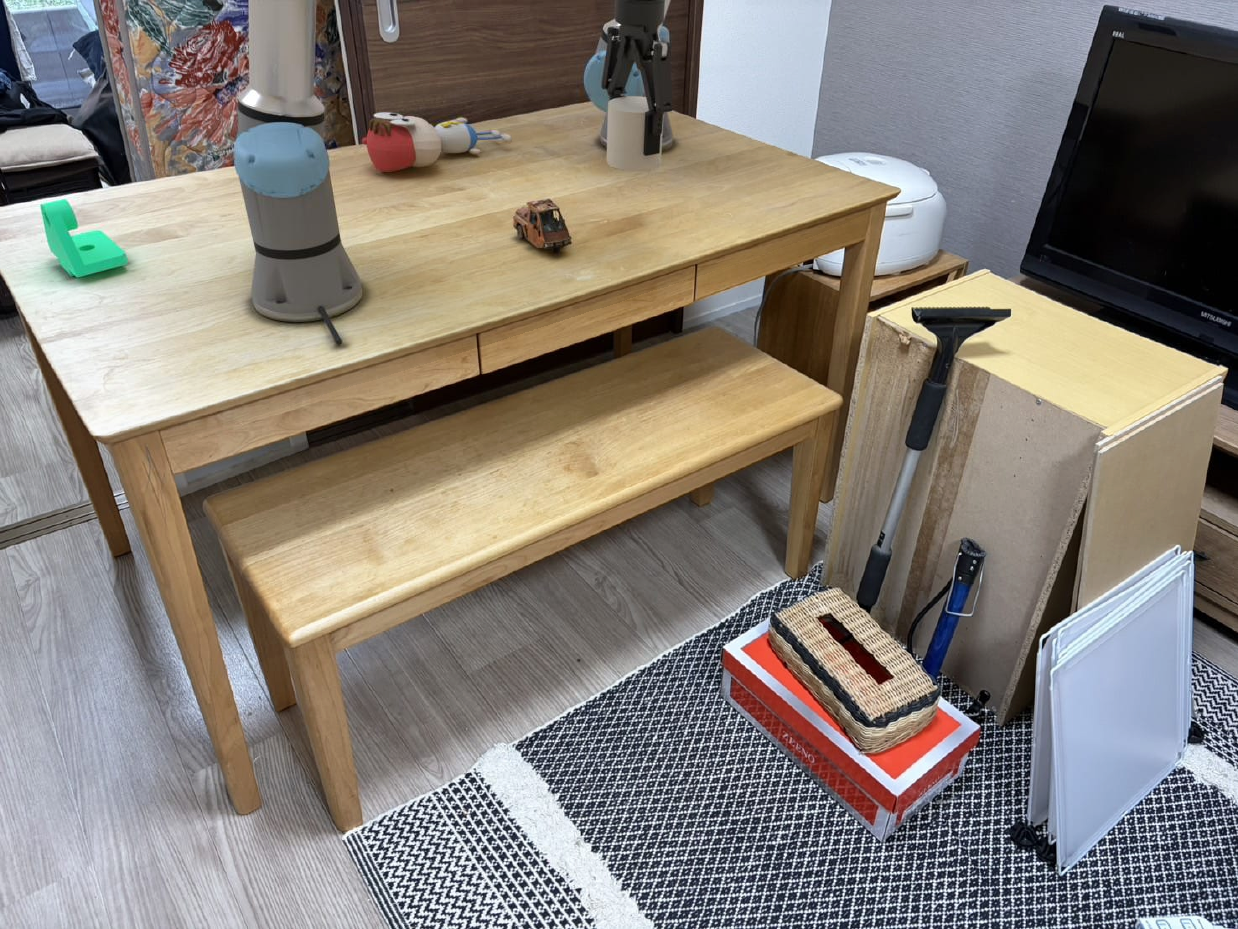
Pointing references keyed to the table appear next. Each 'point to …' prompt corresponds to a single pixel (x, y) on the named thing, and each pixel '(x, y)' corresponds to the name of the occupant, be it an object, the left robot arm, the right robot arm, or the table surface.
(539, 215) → the toy car
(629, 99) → the canister
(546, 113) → the table surface
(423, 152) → the toy
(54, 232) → the camera mount
